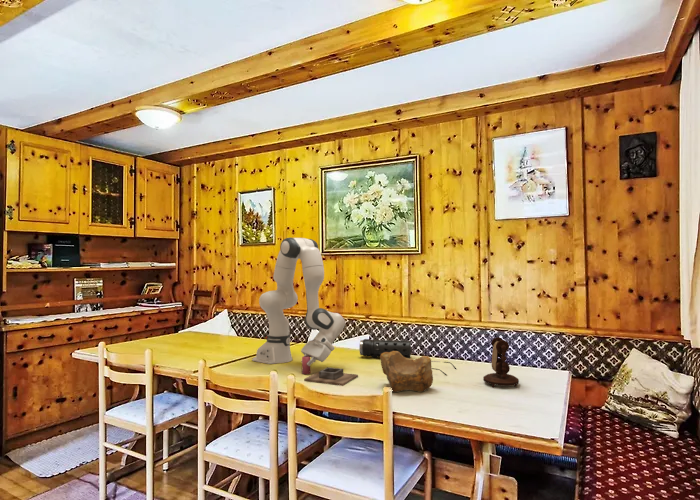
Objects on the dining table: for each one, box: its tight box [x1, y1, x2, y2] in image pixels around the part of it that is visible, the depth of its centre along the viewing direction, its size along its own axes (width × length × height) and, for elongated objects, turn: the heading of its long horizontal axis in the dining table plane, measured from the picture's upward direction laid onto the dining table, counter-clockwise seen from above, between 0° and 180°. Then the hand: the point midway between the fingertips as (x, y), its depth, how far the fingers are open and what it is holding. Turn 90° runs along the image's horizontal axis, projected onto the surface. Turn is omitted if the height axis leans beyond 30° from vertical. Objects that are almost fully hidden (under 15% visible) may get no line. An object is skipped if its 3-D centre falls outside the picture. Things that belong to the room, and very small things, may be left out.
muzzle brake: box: [358, 338, 412, 359], centre depth 247 cm, size 10×28×10 cm, turn 78°
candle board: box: [303, 367, 359, 387], centre depth 206 cm, size 20×16×4 cm
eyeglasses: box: [431, 360, 457, 376], centre depth 220 cm, size 16×19×5 cm
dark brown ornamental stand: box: [482, 336, 520, 388], centre depth 194 cm, size 15×15×20 cm
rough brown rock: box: [379, 351, 434, 393], centre depth 187 cm, size 23×17×15 cm
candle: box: [301, 355, 311, 375], centre depth 216 cm, size 4×4×9 cm
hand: (305, 364), depth 216 cm, fingers closed on candle, 4 cm apart
